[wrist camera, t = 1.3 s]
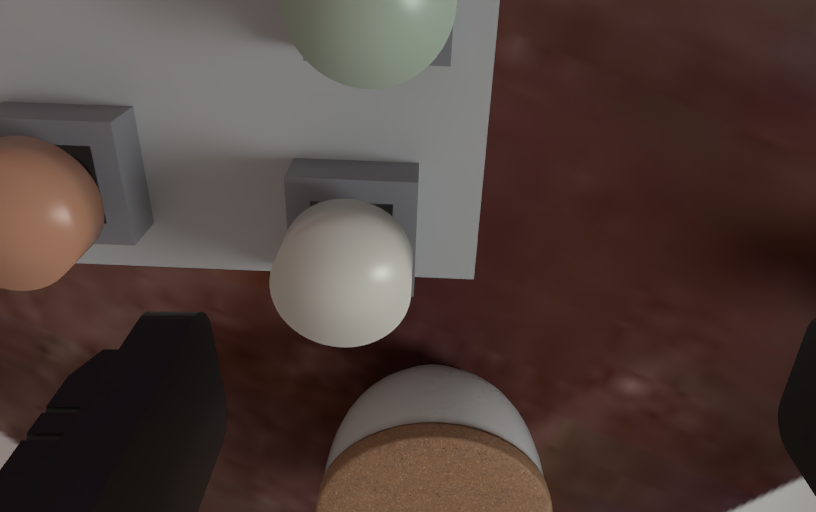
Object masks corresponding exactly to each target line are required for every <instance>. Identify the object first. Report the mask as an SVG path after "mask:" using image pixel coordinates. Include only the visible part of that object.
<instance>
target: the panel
mask: <svg viewBox="0 0 816 512" xmlns="http://www.w3.org/2000/svg"><path fill="white" fill-rule="evenodd" d="M499 3H500V0H457V7H456V15H455V19H454V23H453V27H452V30H451V32H450V35H449V38H448V40H447V41H446V43H445V45H444V47H443V49H442V50H441V52H440V53H439V54H438V56H437V57H436V58H435V59H434V61H433V62H432V63H431V64H430V65H429V66H428V67H427V68H425V69H424V70H423V71H422V72H421V73H419V74H418V75H416V76H415V77H413V78H411V79H410V80H408V81H405V82H403V83H401V84H398V85H395V86H392V87H387V88H381V89H361V88H354V87H350V86H346V85H343V84H341V83H338V82H335V81H333V80H332V79H330V78H328V77H326V76H324V75H323V74H322V73H320V72H319V71H317V70H316V69H315V68H314V67H313V66H311V65H310V64H309V63H308V62H307V61H306V60H305V59H304V57H303V56H302V55H301V54H300V53H299V51H298V50H297V48H296V47H295V45H294V44H293V42H292V40H291V38H290V37H289V35H288V33H287V30H286V28H285V25H284V22H283V19H282V15H281V11H280V5H279V0H0V137H4V136H16V135H19V136H28V137H33V138H37V139H40V140H43V141H46V142H49V143H51V144H53V145H55V146H57V147H59V148H60V149H62V150H64V151H65V152H67V153H68V154H71V155H73V156H75V157H76V158H78V159H79V160H81V161H82V162H83V163H84V164H85V165H86V167H87V168H88V169H89V171H90V173H91V175H92V178H93V180H94V182H95V184H96V185H97V187H98V189H99V192H100V194H101V197H102V200H103V205H104V225H103V229H102V232H101V234H100V236H99V238H98V239H97V241H96V242H95V243H94V244H93V245H92V247H91V248H90V249H89V250H88V251H87V252H86V253H85V254H84V255H83V256H82V257H81V258H80V259H79V260H78V261H77V262H76V263H86V264H111V265H135V266H160V267H185V268H209V269H234V270H259V271H271V269H272V266H273V263H274V261H275V258H276V256H277V254H278V251H279V249H280V247H281V244H282V242H283V240H284V237H285V235H286V233H287V231H288V229H289V227H290V225H291V224H292V222H293V221H294V220H295V219H296V218H297V217H298V216H299V215H300V214H301V213H302V212H303V211H305V210H306V209H308V208H309V207H311V206H313V205H315V204H318V203H320V202H323V201H327V200H332V199H345V198H347V199H356V200H361V201H365V202H368V203H371V204H373V205H375V206H377V207H379V208H381V209H383V210H384V211H386V212H387V213H389V214H390V215H391V216H392V217H393V218H395V219H396V221H397V222H398V223H399V224H400V225H401V226H402V228H403V229H404V231H405V233H406V234H407V236H408V238H409V241H410V244H411V248H412V254H413V267H412V289H411V296H412V297H414V278H415V277H431V278H456V279H474V271H475V260H476V249H477V239H478V228H479V217H480V207H481V196H482V185H483V174H484V164H485V153H486V142H487V131H488V121H489V110H490V99H491V88H492V78H493V67H494V56H495V45H496V35H497V24H498V13H499Z"/></svg>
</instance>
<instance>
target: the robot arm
mask: <svg viewBox="0 0 816 512" xmlns="http://www.w3.org/2000/svg"><path fill="white" fill-rule="evenodd" d="M226 413H227V411H226V398H225V393H224V388H223V383H222V378H221V373H220V368H219V363H218V358H217V353H216V348H215V343H214V338H213V333H212V328H211V324H210V321H209V318H208V317H207V315H206V314H205V313H204V312H146V313H144V314H143V315H142V316H141V317H140V318H139V320H138V321H137V323H136V324H135V326H134V327H133V329H132V330H131V332H130V333H129V335H128V336H127V338H126V339H125V341H124V342H123V344H122V345H121V347H120V348H119V350H102V351H101V352H100V353H98V354H97V355H96V356H94V357H93V358H92V359H90V360H89V361H88V362H86V363H85V364H84V365H82V366H81V367H80V368H78V369H77V370H76V371H74V372H73V373H72V374H70V375H69V376H68V377H67V379H66V380H65V382H64V383H63V384H62V386H61V387H60V388H59V390H58V391H57V393H56V394H55V395H54V397H53V398H52V399H51V401H50V402H49V404H48V405H47V406H46V413H41V415H40V416H39V417H38V419H37V420H36V421H35V423H34V424H33V426H32V427H31V428H30V430H29V431H28V433H27V439H26V441H21V442H20V444H19V445H18V446H17V448H16V449H15V451H14V452H13V453H12V455H11V456H10V457H9V459H8V460H7V462H6V463H5V464H4V466H3V467H2V468H1V470H0V512H198V510H199V507H200V504H201V501H202V499H203V496H204V493H205V490H206V488H207V485H208V482H209V479H210V477H211V474H212V471H213V468H214V465H215V463H216V460H217V457H218V454H219V452H220V449H221V446H222V443H223V439H224V434H225V427H226ZM778 425H779V431H780V436H781V439H782V442H783V444H784V447H785V449H786V451H787V452H788V454H789V456H790V457H791V459H792V460H793V462H794V463H795V465H796V466H797V468H798V470H799V471H800V473H801V474H802V476H803V477H804V479H805V480H806V482H807V483H808V485H809V487H810V488H811V489H812V491H813V493H814V494H815V496H816V318H814V319H813V320H812V321H811V323H810V324H809V326H808V328H807V330H806V332H805V335H804V338H803V340H802V343H801V346H800V349H799V351H798V354H797V357H796V360H795V362H794V365H793V368H792V371H791V373H790V376H789V379H788V382H787V384H786V387H785V390H784V393H783V395H782V398H781V401H780V404H779V410H778Z"/></svg>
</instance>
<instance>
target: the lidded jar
mask: <svg viewBox="0 0 816 512" xmlns="http://www.w3.org/2000/svg"><path fill="white" fill-rule="evenodd" d="M315 512H553V511H552V503H551V498H550V493H549V490H548V487H547V485H546V482H545V479H544V477H543V472H542V468H541V464H540V460H539V456H538V454H537V451H536V448H535V445H534V442H533V440H532V437H531V435H530V432H529V430H528V428H527V426H526V424H525V423H524V421H523V419H522V417H521V416H520V414H519V412H518V411H517V409H516V408H515V407H514V406H513V405H512V403H511V402H510V401H509V400H508V399H507V398H506V397H505V396H504V394H503V393H502V392H500V391H499V390H498V389H497V388H495V387H494V386H493V385H492V384H490V383H489V382H487V381H485V380H484V379H482V378H480V377H478V376H477V375H474V374H472V373H470V372H467V371H465V370H461V369H457V368H454V367H450V366H446V365H438V364H426V365H419V366H415V367H411V368H408V369H404V370H400V371H398V372H395V373H393V374H390V375H388V376H386V377H385V378H383V379H381V380H380V381H378V382H376V383H375V384H373V385H372V386H371V387H370V388H368V389H367V390H366V391H365V392H364V393H363V394H362V395H361V396H360V397H359V398H358V399H357V401H356V402H355V403H354V404H353V405H352V406H351V408H350V409H349V410H348V412H347V414H346V415H345V417H344V419H343V421H342V423H341V425H340V426H339V428H338V430H337V432H336V435H335V438H334V441H333V443H332V446H331V449H330V452H329V456H328V459H327V463H326V468H325V472H324V476H323V479H322V482H321V485H320V488H319V491H318V495H317V501H316V510H315Z"/></svg>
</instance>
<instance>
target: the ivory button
mask: <svg viewBox="0 0 816 512" xmlns="http://www.w3.org/2000/svg"><path fill="white" fill-rule="evenodd" d="M412 267H413V254H412V248H411V244H410V241H409V238H408V236H407V234H406V233H405V231H404V229H403V228H402V226H401V225H400V224H399V223H398V222H397V221H396V219H395V218H393V217H392V216H391V215H390V214H389V213H387V212H386V211H384V210H383V209H381V208H379V207H377V206H375V205H373V204H371V203H368V202H365V201H361V200H356V199H347V198H345V199H332V200H327V201H323V202H320V203H318V204H315V205H313V206H311V207H309V208H308V209H306V210H305V211H303V212H302V213H301V214H300V215H299V216H298V217H297V218H296V219H295V220H294V221H293V222H292V224H291V225H290V227H289V229H288V231H287V233H286V235H285V237H284V240H283V242H282V244H281V247H280V249H279V251H278V254H277V256H276V258H275V261H274V263H273V266H272V269H271V273H270V293H271V297H272V300H273V303H274V305H275V307H276V309H277V311H278V313H279V314H280V316H281V317H282V318H283V320H284V321H285V322H286V323H287V324H288V325H289V326H290V327H291V328H292V329H294V330H295V331H296V332H298V333H299V334H300V335H302V336H304V337H306V338H308V339H310V340H312V341H314V342H317V343H320V344H323V345H328V346H333V347H357V346H362V345H367V344H370V343H373V342H375V341H377V340H379V339H381V338H383V337H385V336H386V335H388V334H389V333H391V332H392V331H393V330H394V329H395V328H396V327H397V326H398V325H399V324H400V322H401V321H402V320H403V318H404V316H405V315H406V312H407V310H408V308H409V304H410V300H411V289H412Z"/></svg>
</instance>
